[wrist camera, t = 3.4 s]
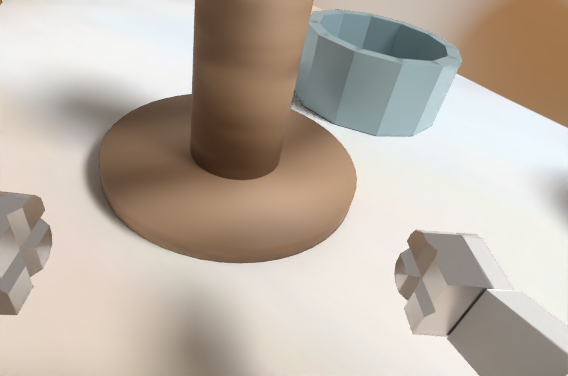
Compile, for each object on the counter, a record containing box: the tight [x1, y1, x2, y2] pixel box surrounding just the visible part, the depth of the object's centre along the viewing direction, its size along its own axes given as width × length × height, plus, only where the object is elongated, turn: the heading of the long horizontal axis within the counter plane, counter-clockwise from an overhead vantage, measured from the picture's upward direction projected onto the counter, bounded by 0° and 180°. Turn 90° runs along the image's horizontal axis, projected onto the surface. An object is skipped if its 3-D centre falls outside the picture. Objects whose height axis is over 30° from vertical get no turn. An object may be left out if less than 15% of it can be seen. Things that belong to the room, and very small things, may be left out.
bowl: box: [294, 9, 462, 136], centre depth 32 cm, size 12×12×6 cm
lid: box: [99, 0, 357, 263], centre depth 19 cm, size 14×14×12 cm
